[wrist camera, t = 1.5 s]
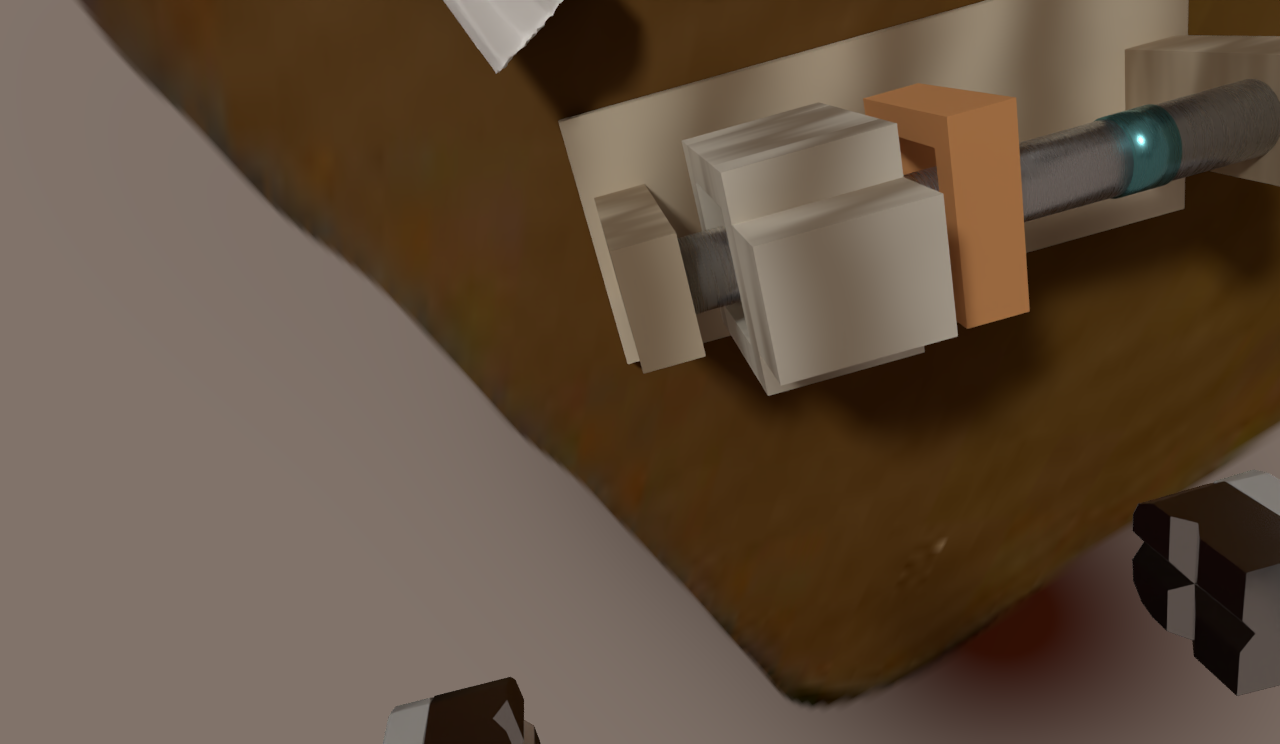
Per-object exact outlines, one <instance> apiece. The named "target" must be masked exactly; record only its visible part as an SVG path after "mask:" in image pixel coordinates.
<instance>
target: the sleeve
mask: <svg viewBox="0 0 1280 744" xmlns="http://www.w3.org/2000/svg"><path fill="white" fill-rule="evenodd" d="M682 145H683V150H684V154H685V158H686V163H687V167H688V172H689V176H690V180H691V185H692V189H693V194H694V198H695V202H696V207H697V211H698V215H699V220H700V224H701V229H702V231H705V230H709V229H712V228H716V227H719V226H723V225H725V228H726V232H727V237H728V242H729V246H730V251H731V256H732V260H733V265H734V270H735V274H736V279H737V283H738V288H739V293H740V297H741V302H738V303H734V304H731V305H727V306H724V307H720V312H721V316H722V321H723V323H724V324H725V326H726V328H727V329H728V331H729V333H730V334H731V336H732V338H733V339H734V341H735V342H736V344H737V346H738V347H739V349H740V351H741V352H742V354H743V356H744V357H745V359H746V361H747V362H748V364H749V365H750V367H751V369H752V370H753V372H754V374H755V375H756V377H757V379H758V380H759V382H760V384H761V385H762V387H763V388H764V390H765V392H766V393H767V395H768V396H770V395H774V394H777V393H781V392H784V391H788V390H791V389H795V388H799V387H802V386H806V385H809V384H813V383H816V382H820V381H824V380H827V379H831V378H834V377H838V376H841V375H845V374H849V373H852V372H856V371H859V370H863V369H866V368H870V367H874V366H877V365H881V364H884V363H888V362H891V361H895V360H899V359H902V358H906V357H909V356H913V355H917V354H920V353H924V352H925V350H924V346H925V345H928V344H932V343H936V342H939V341H943V340H946V339H950V338H953V337H957V336H958V332H957V322H956V312H955V303H954V293H953V283H952V273H951V264H950V254H949V244H948V234H947V225H946V215H945V205H944V195H943V193H941V192H938V191H936V190H933V189H931V188H929V187H926V186H924V185H921V184H919V183H917V182H914V181H912V180H909V179H907V178H904V177H903V169H902V161H901V152H900V144H899V136H898V128H897V123H894V122H890V121H886V120H882V119H879V118H875V117H871V116H868V115H864V114H860V113H856V112H853V111H849V110H845V109H842V108H838V107H834V106H830V105H827V104H823V103H819V102H818V103H814V104H811V105H807V106H803V107H800V108H796V109H793V110H789V111H786V112H782V113H778V114H775V115H771V116H768V117H764V118H761V119H757V120H753V121H750V122H746V123H743V124H739V125H736V126H732V127H728V128H725V129H721V130H718V131H714V132H711V133H707V134H703V135H700V136H696V137H693V138H689V139H686V140H682Z"/></svg>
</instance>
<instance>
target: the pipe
mask: <svg viewBox="0 0 1280 744" xmlns="http://www.w3.org/2000/svg"><path fill="white" fill-rule="evenodd" d="M1279 137H1280V102H1279V99H1278V97H1277V95H1276V94H1275V92H1274V91H1273V90H1272V89H1271V88H1270V87H1269V86H1268V85H1267V84H1266V83H1264V82H1262V81H1260V80H1257V79H1245V80H1241V81H1237V82H1234V83H1230V84H1227V85H1223V86H1220V87H1216V88H1212V89H1209V90H1205V91H1202V92H1198V93H1195V94H1191V95H1187V96H1184V97H1180V98H1177V99H1173V100H1170V101H1166V102H1162V103H1159V104H1155V105H1154V104H1148V105H1143V106H1140V107H1136V108H1133V109H1129V110H1126V111H1122V112H1118V113H1115V114H1111V115H1108V116H1104V117H1101V118H1098V119H1096V120H1095V121H1094V122H1091V123H1087V124H1084V125H1080V126H1077V127H1073V128H1069V129H1066V130H1062V131H1059V132H1055V133H1052V134H1048V135H1044V136H1041V137H1037V138H1034V139H1030V140H1027V141H1023V142H1019V150H1020V166H1021V182H1022V198H1023V213H1024V222H1027V221H1031V220H1034V219H1038V218H1042V217H1045V216H1049V215H1052V214H1056V213H1060V212H1063V211H1067V210H1070V209H1074V208H1077V207H1081V206H1085V205H1088V204H1092V203H1095V202H1099V201H1102V200H1106V199H1117V198H1121V197H1125V196H1128V195H1132V194H1135V193H1139V192H1143V191H1146V190H1150V189H1153V188H1157V187H1161V186H1164V185H1166V184H1168V183H1169V182H1171V181H1174V180H1177V179H1181V178H1185V177H1188V176H1192V175H1195V174H1199V173H1202V172H1206V171H1210V170H1213V169H1217V168H1220V167H1224V166H1227V165H1231V164H1235V163H1238V162H1242V161H1245V160H1249V159H1252V158H1256V157H1260V156H1262V155H1265V154H1266V153H1268V152H1269V151H1270V150H1271V149H1272V148H1273V147H1274V146H1275V144H1276V143H1277V141H1278V139H1279ZM903 177H904V178H907V179H909V180H912V181H914V182H917V183H919V184H921V185H924V186H926V187H929V188H931V189H933V190H936V191H938V192H939V185H938V175H937V166H934V167H930V168H927V169H923V170H919V171H916V172H912V173H909V174H905V175H903ZM677 239H678V243H679V247H680V251H681V255H682V260H683V264H684V268H685V272H686V276H687V280H688V284H689V288H690V293H691V297H692V301H693V305H694V309H695V313H696V314H699V313H702V312H706V311H709V310H713V309H716V308H720V307H724V306H727V305H731V304H734V303H738V302H741V297H740V293H739V288H738V283H737V279H736V274H735V270H734V265H733V260H732V256H731V251H730V246H729V242H728V237H727V232H726V228H725V225H723V226H719V227H716V228H712V229H709V230H705V231H702V232H698V233H694V234H691V235H687V236H684V237H680V238H677Z"/></svg>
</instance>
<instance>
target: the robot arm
mask: <svg viewBox="0 0 1280 744" xmlns="http://www.w3.org/2000/svg"><path fill="white" fill-rule="evenodd" d="M1133 532H1134V533H1135V534H1136V535H1138V536H1139V537H1140V538H1141V539H1142V540H1143V541H1144V543H1143V544H1142V546H1141V547H1140V549H1139V550H1138V552H1137V553H1136V555H1135V556H1134V558H1133V559H1132V561H1133V581H1134V584H1135V587H1136V589H1137V592H1138V594H1139V596H1140V599H1141V602H1142V603H1143V605H1144V606H1145V607H1146V609H1147V610H1148V612H1149V613H1150V614H1151V616H1152V617H1153V618H1154V619H1155V620H1156V621H1157V622H1158V623H1159V624H1160V625H1161V626H1162V627H1163V628H1164V629H1165V630H1166V631H1168V632H1171V633H1174V634H1177V635H1179V636H1182V637H1185V638H1188V639H1190V640H1192V641H1193V651H1194V657H1195V658H1196V659H1198V661H1200V662H1201V663H1202V664H1203V665H1204V666H1205V667H1206V668H1207V669H1208V670H1209V671H1210V672H1211V673H1213V674H1214V675H1215V676H1216V677H1217V678H1218V679H1219V680H1220V681H1221V682H1222V683H1223V684H1224V685H1226V686H1227V687H1228V688H1229V689H1230V690H1231V691H1232V692H1233V693H1234V694H1235V695H1236V696H1239V695H1243V694H1247V693H1251V692H1255V691H1259V690H1263V689H1267V688H1271V687H1275V686H1279V685H1280V480H1279V479H1278V478H1276V477H1274V476H1273V475H1271V474H1269V473H1266V472H1262V471H1257V470H1251V471H1247V472H1244V473H1241V474H1237V475H1234V476H1231V477H1228V478H1224V479H1220V480H1217V481H1215V482H1214V483H1210V484H1206V485H1202V486H1199V487H1195V488H1192V489H1188V490H1185V491H1181V492H1178V493H1174V494H1171V495H1167V496H1164V497H1160V498H1157V499H1153V500H1150V501H1146V502H1142V503H1139V504H1138V506H1137V508H1136V510H1135V512H1134V514H1133ZM383 744H540V740H539V737H538V735H537V733H536V730H535V727H534V725H532V724H530V723H529V722H527V721H525V720H524V699H523V696H522V694H521V692H520V689H519V687H518V685H517V683H516V680H515V679H513V678H511V677H508V678H504V679H500V680H496V681H492V682H488V683H484V684H480V685H476V686H473V687H468V688H464V689H460V690H456V691H452V692H448V693H444V694H440V695H437V696H434V698H427V699H424V700H420V701H416V702H412V703H408V704H404V705H400V706H396V707H395V708H394V710H393V711H392V712H391V714H390V716H389V718H388V722H387V727H386V731H385V736H384V741H383Z"/></svg>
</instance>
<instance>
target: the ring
mask: <svg viewBox="0 0 1280 744" xmlns="http://www.w3.org/2000/svg"><path fill="white" fill-rule="evenodd" d="M863 102H864V109H865V115H868V116H871V117H875V118H879V119H882V120H886V121H890V122H894V123H897V128H898V136H899V144H900V152H901V161H902V169H903V175H905V174H909V173H912V172H916V171H919V170H923V169H927V168H930V167H934V166H937V175H938V185H939V192H941V193H943V195H944V205H945V215H946V225H947V234H948V244H949V254H950V264H951V273H952V283H953V293H954V303H955V312H956V321H957V322H958V323H960V324H961V325H962V326H964V327H965V328H967V329H969V328H972V327H976V326H980V325H983V324H987V323H990V322H994V321H997V320H1001V319H1005V318H1008V317H1012V316H1015V315H1019V314H1022V313H1026V312H1030V309H1029V293H1028V277H1027V261H1026V245H1025V229H1024V213H1023V198H1022V182H1021V166H1020V150H1019V134H1018V118H1017V102H1016V97H1010V96H1003V95H996V94H989V93H982V92H975V91H969V90H962V89H955V88H948V87H941V86H934V85H927V84H921V83H917V84H913V85H910V86H906V87H903V88H899V89H895V90H892V91H888V92H885V93H881V94H878V95H874V96H870V97H867V98H863Z"/></svg>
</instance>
